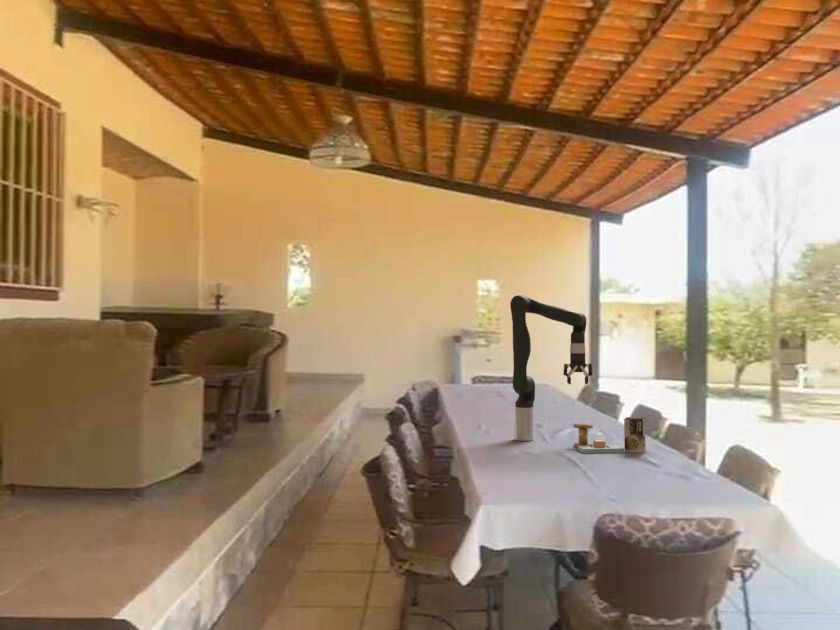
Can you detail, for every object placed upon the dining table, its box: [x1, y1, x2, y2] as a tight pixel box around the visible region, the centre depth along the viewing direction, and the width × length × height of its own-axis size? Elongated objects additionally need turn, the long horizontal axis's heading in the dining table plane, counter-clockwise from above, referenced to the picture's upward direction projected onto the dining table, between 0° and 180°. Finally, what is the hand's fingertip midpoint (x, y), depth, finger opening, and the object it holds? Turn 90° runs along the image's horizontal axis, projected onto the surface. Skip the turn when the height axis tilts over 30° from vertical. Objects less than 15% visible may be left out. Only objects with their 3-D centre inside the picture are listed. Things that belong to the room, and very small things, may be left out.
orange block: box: [592, 439, 606, 448], centre depth 419 cm, size 4×4×5 cm
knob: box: [573, 422, 593, 448], centre depth 432 cm, size 9×9×11 cm
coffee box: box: [623, 416, 647, 454], centre depth 416 cm, size 9×6×16 cm
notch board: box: [576, 444, 625, 454], centre depth 418 cm, size 20×10×2 cm, turn 96°
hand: (577, 384), depth 441 cm, fingers open, 8 cm apart
